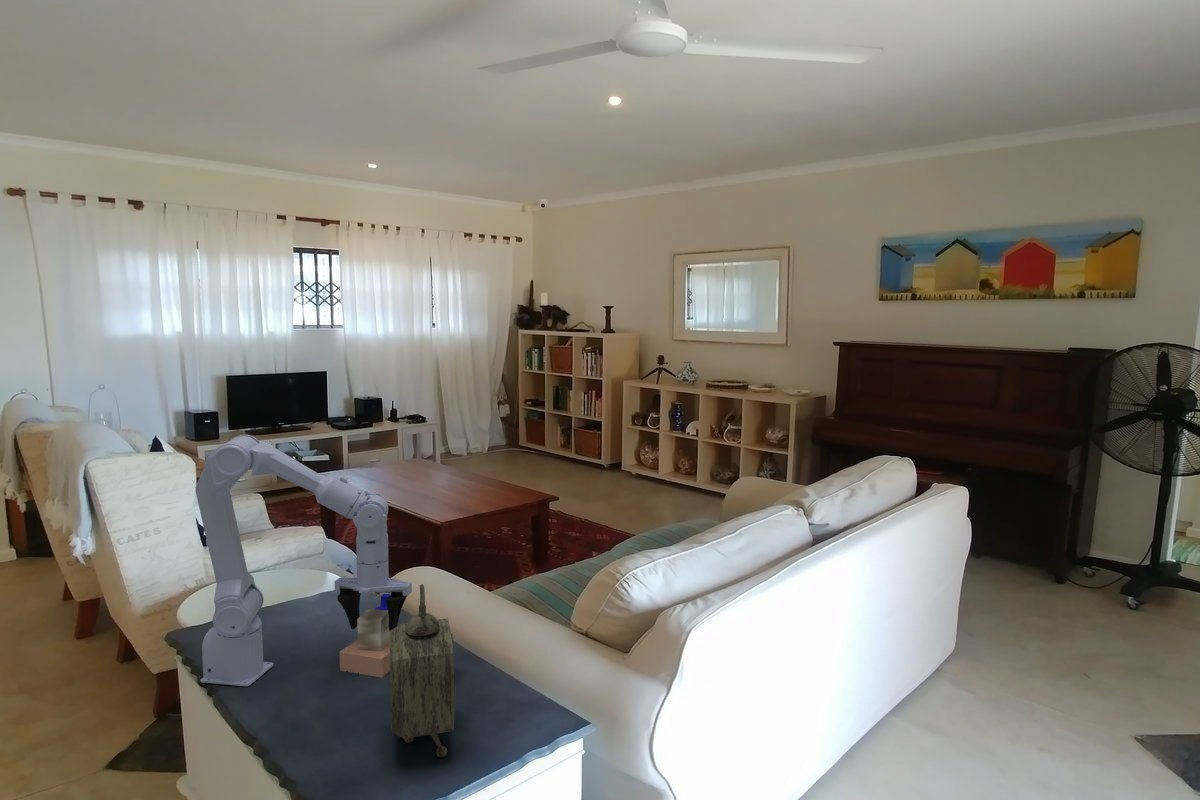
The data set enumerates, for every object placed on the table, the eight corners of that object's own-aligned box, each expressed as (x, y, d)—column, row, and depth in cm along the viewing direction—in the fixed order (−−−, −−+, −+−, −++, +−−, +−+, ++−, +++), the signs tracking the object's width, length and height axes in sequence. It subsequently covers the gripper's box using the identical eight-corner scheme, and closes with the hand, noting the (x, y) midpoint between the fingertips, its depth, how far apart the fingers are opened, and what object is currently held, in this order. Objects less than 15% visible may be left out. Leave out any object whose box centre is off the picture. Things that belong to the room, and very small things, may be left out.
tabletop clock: (454, 763, 103) (453, 603, 100) (391, 773, 100) (388, 609, 97) (447, 710, 116) (446, 568, 114) (391, 718, 114) (389, 573, 111)
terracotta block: (340, 672, 129) (339, 651, 129) (368, 650, 138) (367, 631, 137) (382, 679, 127) (381, 659, 126) (408, 657, 135) (407, 637, 135)
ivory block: (357, 649, 130) (357, 618, 129) (367, 638, 134) (367, 609, 133) (380, 650, 129) (380, 620, 129) (390, 640, 134) (389, 610, 133)
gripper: (325, 564, 127) (327, 634, 128) (400, 569, 125) (401, 640, 127) (344, 551, 134) (345, 618, 135) (415, 556, 132) (416, 623, 133)
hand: (374, 628), depth 131 cm, fingers open, 7 cm apart
